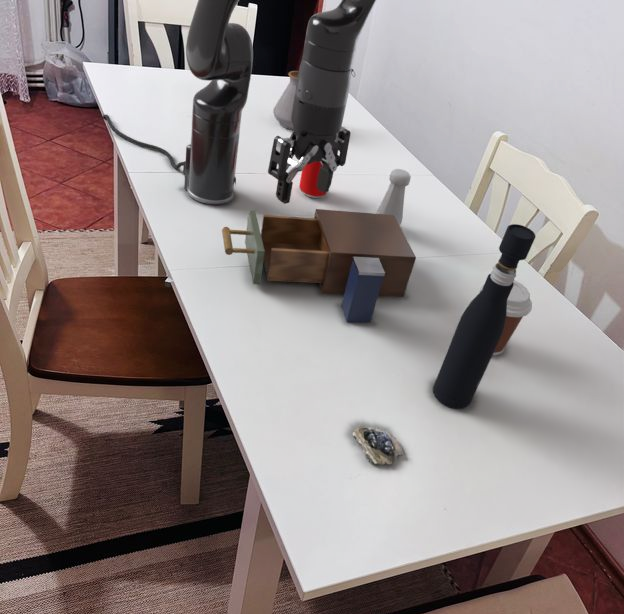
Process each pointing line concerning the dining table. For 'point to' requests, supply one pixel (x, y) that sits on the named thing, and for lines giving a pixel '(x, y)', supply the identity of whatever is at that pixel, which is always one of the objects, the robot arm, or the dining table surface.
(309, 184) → the beverage can
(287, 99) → the coffee pot
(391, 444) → the mineral rock
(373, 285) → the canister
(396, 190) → the salt shaker
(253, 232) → the drawer
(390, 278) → the cabinet
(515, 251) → the black bottle
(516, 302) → the coffee cup
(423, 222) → the dining table surface
